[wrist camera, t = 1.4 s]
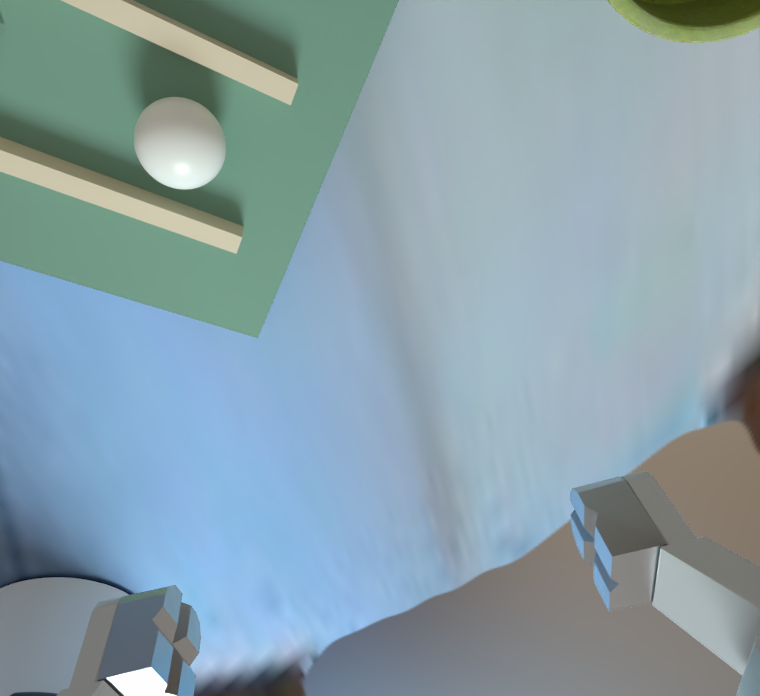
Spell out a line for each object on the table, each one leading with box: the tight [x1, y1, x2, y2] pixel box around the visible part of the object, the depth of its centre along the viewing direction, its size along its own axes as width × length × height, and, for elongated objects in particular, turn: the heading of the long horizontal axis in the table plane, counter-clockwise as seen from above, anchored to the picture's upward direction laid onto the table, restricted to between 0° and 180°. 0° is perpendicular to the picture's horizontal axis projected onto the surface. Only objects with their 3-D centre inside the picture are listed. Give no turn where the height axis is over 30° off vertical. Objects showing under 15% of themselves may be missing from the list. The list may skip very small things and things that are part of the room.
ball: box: [134, 97, 226, 190], centre depth 26 cm, size 4×4×4 cm
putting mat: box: [0, 0, 399, 338], centre depth 25 cm, size 28×20×6 cm
